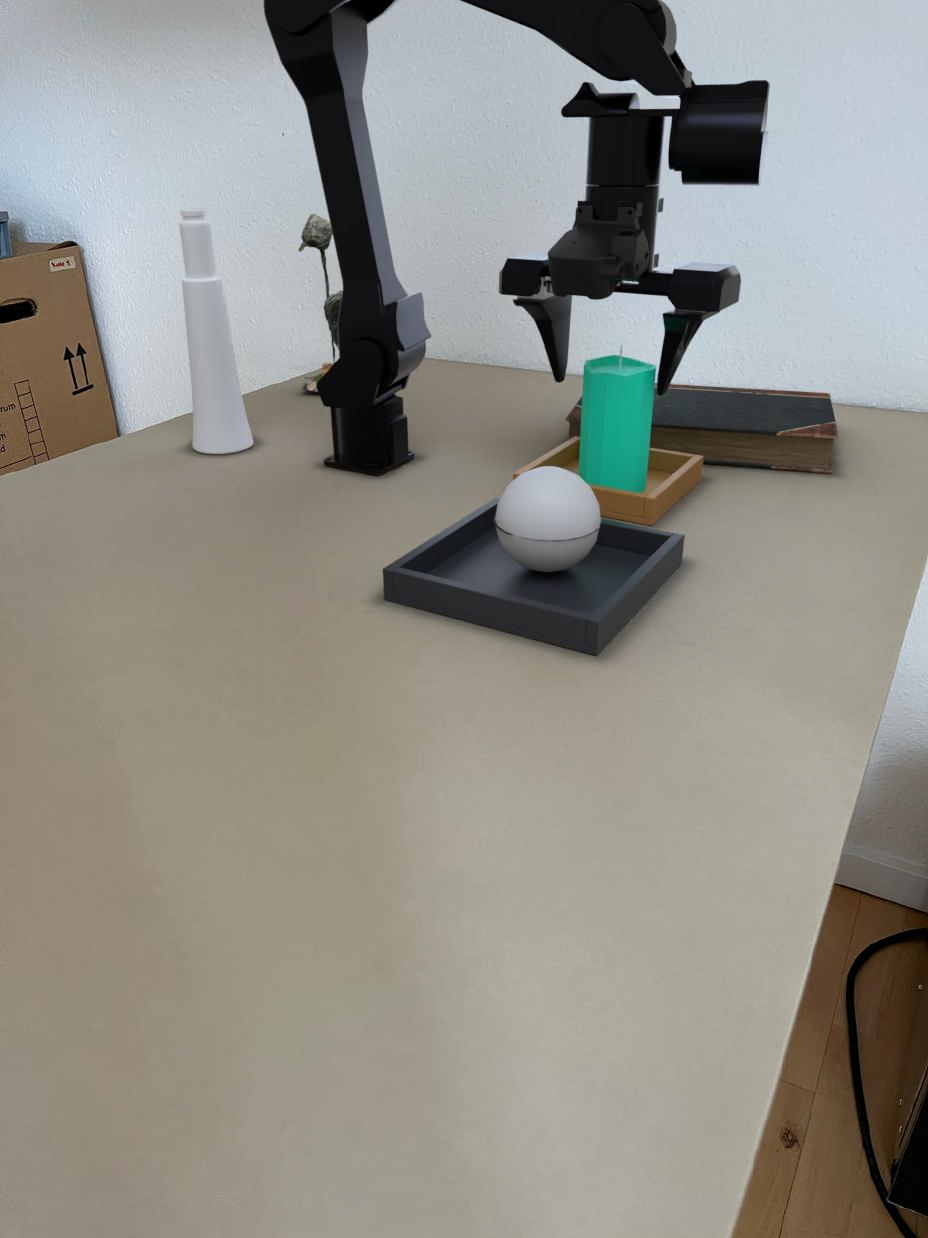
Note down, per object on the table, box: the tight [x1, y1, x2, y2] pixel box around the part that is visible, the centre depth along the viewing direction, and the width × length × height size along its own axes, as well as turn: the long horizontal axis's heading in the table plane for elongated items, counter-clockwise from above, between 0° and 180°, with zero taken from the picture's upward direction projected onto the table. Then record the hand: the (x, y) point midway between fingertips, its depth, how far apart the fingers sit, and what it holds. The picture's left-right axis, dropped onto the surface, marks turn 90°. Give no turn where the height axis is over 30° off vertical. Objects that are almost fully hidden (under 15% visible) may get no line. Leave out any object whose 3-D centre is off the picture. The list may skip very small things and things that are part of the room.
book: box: [564, 382, 840, 474], centre depth 95 cm, size 17×4×25 cm
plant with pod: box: [298, 213, 343, 393], centre depth 111 cm, size 8×11×20 cm
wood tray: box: [512, 436, 704, 527], centre depth 82 cm, size 13×13×2 cm
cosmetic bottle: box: [178, 208, 255, 455], centre depth 90 cm, size 6×6×22 cm
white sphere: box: [493, 466, 602, 572], centre depth 64 cm, size 10×7×7 cm
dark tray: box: [382, 497, 686, 656], centre depth 66 cm, size 16×16×2 cm
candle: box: [578, 344, 657, 493], centre depth 79 cm, size 6×6×12 cm
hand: (609, 387), depth 79 cm, fingers open, 9 cm apart
